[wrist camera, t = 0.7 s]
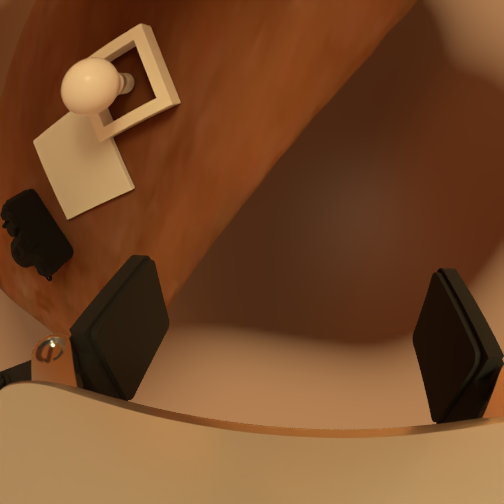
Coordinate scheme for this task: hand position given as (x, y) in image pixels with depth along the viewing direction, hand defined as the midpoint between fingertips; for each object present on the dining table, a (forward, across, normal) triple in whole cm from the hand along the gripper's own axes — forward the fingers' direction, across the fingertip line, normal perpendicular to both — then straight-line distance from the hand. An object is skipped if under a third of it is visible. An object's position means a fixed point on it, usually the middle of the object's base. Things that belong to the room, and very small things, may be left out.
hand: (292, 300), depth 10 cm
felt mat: (+27, +30, 0) cm, 41 cm away
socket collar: (+27, +21, -9) cm, 35 cm away
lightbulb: (+27, +21, -9) cm, 35 cm away
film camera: (+27, +43, +11) cm, 52 cm away
